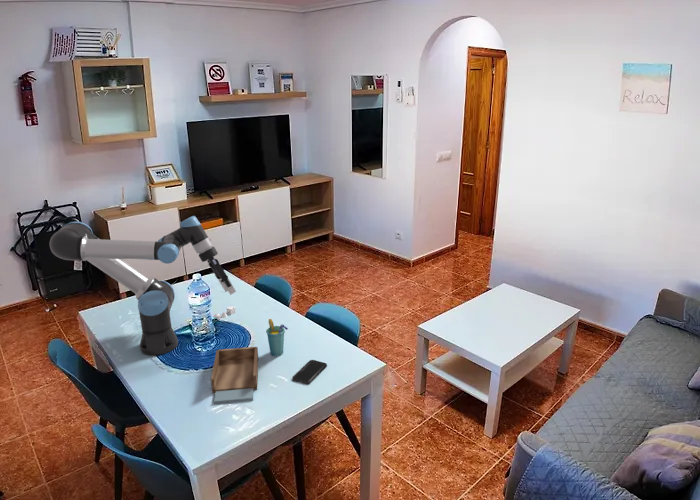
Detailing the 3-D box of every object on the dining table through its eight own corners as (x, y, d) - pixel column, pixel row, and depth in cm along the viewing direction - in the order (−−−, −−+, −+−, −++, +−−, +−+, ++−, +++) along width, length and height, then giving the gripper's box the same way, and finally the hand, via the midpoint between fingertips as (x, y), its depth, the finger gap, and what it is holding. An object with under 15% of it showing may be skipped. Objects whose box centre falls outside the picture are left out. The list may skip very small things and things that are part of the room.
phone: (327, 363, 202) (308, 383, 189) (328, 366, 202) (308, 385, 190) (310, 359, 205) (290, 378, 193) (310, 361, 206) (290, 380, 193)
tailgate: (216, 393, 184) (214, 403, 179) (215, 391, 184) (214, 401, 179) (253, 390, 186) (253, 400, 181) (253, 388, 186) (252, 397, 180)
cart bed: (212, 393, 185) (210, 379, 183) (217, 362, 204) (216, 349, 202) (257, 389, 187) (256, 375, 185) (258, 359, 206) (257, 346, 204)
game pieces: (231, 311, 250) (230, 305, 249) (236, 313, 248) (235, 307, 247) (212, 320, 240) (211, 314, 239) (217, 322, 238) (216, 316, 237)
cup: (296, 356, 209) (294, 323, 204) (281, 363, 204) (279, 330, 199) (275, 344, 218) (273, 312, 213) (260, 351, 213) (258, 318, 208)
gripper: (217, 245, 209) (243, 289, 213) (210, 245, 232) (233, 285, 236) (200, 254, 207) (227, 299, 211) (195, 254, 230) (219, 294, 234)
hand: (230, 292), depth 223 cm, fingers open, 13 cm apart
